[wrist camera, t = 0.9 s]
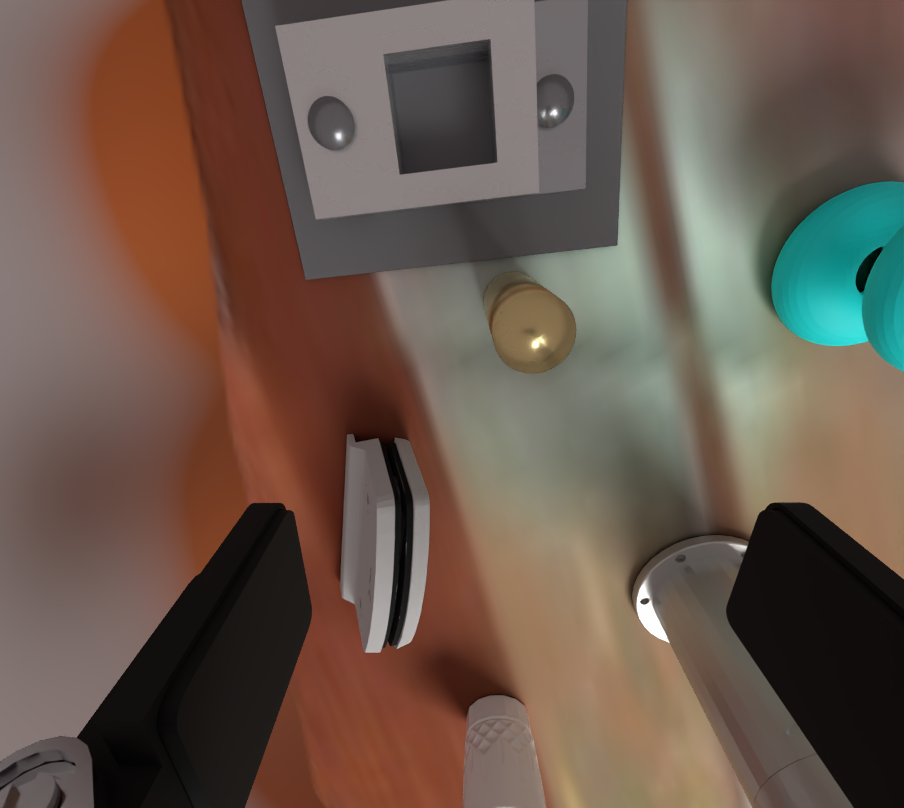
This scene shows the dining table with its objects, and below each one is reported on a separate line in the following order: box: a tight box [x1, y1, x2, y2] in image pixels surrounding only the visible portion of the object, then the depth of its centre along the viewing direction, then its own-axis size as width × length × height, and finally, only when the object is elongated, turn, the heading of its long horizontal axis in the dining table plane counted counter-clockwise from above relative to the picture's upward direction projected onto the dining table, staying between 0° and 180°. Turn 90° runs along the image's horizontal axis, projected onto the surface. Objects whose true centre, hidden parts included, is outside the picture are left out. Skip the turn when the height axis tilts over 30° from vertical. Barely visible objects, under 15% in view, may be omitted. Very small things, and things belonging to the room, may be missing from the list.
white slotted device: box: [340, 434, 430, 652], centre depth 34 cm, size 17×5×10 cm, turn 172°
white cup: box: [463, 695, 546, 808], centre depth 42 cm, size 8×8×10 cm
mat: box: [241, 0, 627, 280], centre depth 26 cm, size 21×16×1 cm
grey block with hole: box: [275, 0, 588, 220], centre depth 24 cm, size 16×9×4 cm, turn 96°
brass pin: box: [484, 272, 576, 373], centre depth 25 cm, size 4×4×10 cm
